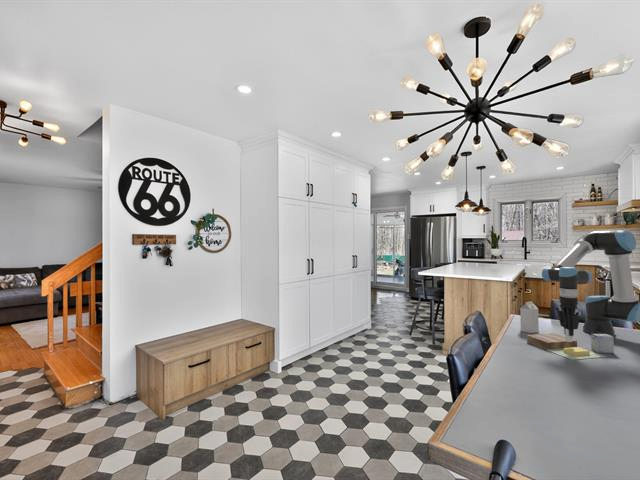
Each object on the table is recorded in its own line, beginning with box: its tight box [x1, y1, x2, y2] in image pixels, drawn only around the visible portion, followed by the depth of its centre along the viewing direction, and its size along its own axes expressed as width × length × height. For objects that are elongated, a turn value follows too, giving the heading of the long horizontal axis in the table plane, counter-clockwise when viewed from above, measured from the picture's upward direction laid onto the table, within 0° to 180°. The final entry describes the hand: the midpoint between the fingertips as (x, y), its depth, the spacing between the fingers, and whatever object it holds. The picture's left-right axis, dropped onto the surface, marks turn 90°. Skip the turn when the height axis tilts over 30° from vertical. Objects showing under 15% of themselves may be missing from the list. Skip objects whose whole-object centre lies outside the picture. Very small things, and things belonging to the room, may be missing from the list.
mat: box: [546, 349, 607, 361], centre depth 161 cm, size 20×14×1 cm
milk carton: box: [519, 301, 540, 334], centre depth 201 cm, size 7×7×19 cm
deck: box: [526, 332, 578, 351], centre depth 175 cm, size 18×14×4 cm
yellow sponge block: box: [563, 346, 591, 356], centre depth 161 cm, size 9×6×2 cm, turn 99°
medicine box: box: [590, 334, 615, 354], centre depth 164 cm, size 8×4×9 cm, turn 84°
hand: (569, 341), depth 165 cm, fingers closed
